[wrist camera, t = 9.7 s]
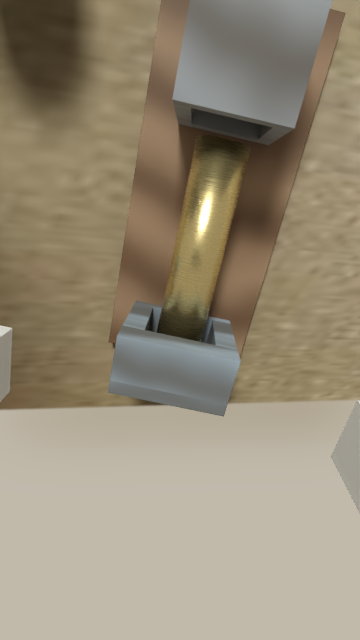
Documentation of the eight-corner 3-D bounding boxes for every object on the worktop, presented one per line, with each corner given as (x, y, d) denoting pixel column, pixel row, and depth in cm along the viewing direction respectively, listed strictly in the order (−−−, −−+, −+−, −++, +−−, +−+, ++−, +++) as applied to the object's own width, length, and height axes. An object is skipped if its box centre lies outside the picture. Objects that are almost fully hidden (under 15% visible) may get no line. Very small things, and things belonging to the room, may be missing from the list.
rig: (167, -22, 23) (151, -142, 15) (338, 21, 24) (417, -73, 15) (111, 336, 33) (82, 387, 24) (234, 363, 33) (248, 421, 25)
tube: (196, 140, 24) (196, 132, 21) (246, 152, 24) (255, 145, 21) (154, 343, 30) (149, 363, 26) (195, 352, 30) (195, 373, 26)
